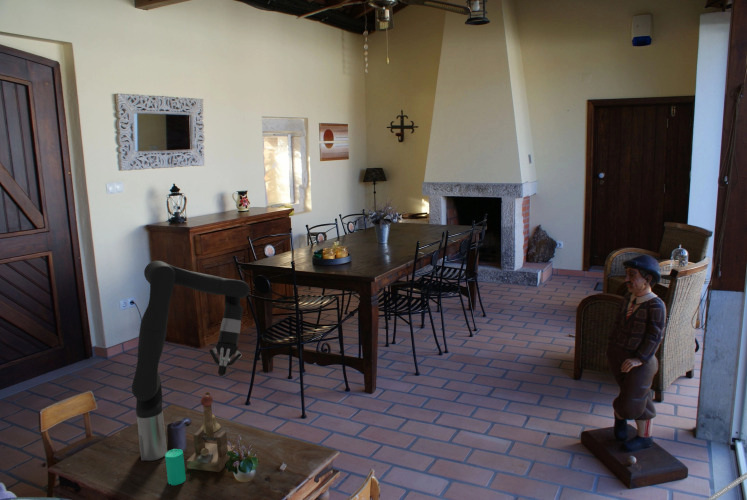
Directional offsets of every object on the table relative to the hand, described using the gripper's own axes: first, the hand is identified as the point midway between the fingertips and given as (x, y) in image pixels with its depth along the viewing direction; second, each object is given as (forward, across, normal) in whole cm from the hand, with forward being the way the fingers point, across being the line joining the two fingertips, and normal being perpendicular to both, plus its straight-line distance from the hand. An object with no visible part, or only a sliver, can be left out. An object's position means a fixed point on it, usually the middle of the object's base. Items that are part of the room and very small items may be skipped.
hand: (221, 375), depth 224 cm
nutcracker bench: (+31, +3, -2) cm, 31 cm away
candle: (+37, -6, -14) cm, 40 cm away
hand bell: (+23, -6, +21) cm, 32 cm away
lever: (+22, +1, -6) cm, 23 cm away
